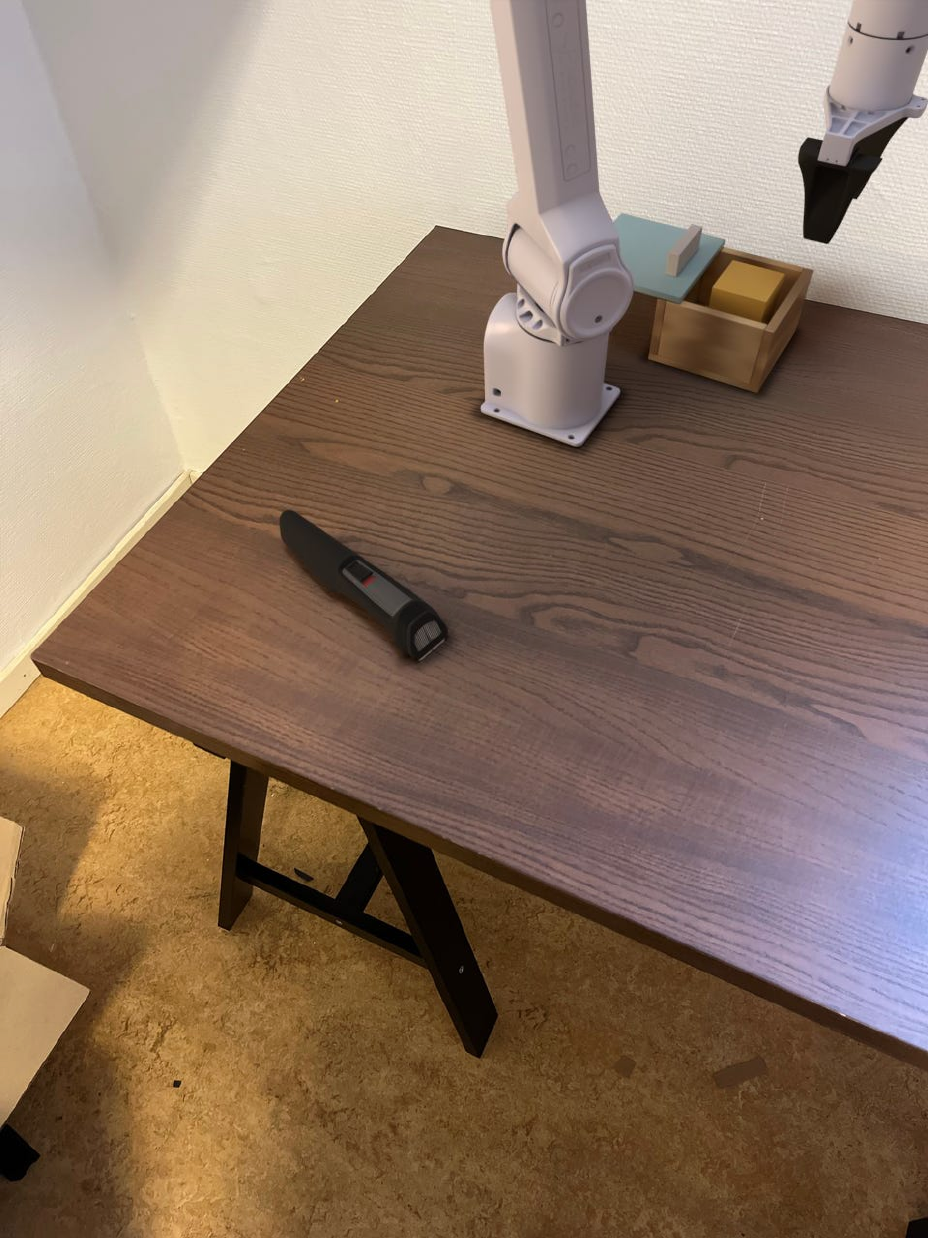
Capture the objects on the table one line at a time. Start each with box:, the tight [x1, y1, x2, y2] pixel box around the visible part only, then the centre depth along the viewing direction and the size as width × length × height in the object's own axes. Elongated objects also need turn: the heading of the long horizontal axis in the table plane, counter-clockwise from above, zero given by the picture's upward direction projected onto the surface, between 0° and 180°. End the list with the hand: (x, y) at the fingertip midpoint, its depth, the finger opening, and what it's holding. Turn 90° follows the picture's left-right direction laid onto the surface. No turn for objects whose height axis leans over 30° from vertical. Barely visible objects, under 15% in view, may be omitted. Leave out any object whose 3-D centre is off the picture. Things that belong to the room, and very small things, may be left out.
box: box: [648, 246, 814, 394], centre depth 75 cm, size 10×10×6 cm
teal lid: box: [613, 212, 726, 303], centre depth 74 cm, size 10×10×3 cm
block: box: [708, 260, 785, 326], centre depth 74 cm, size 5×5×6 cm
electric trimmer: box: [278, 509, 449, 662], centre depth 61 cm, size 4×16×3 cm, turn 45°
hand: (831, 216), depth 70 cm, fingers open, 7 cm apart
